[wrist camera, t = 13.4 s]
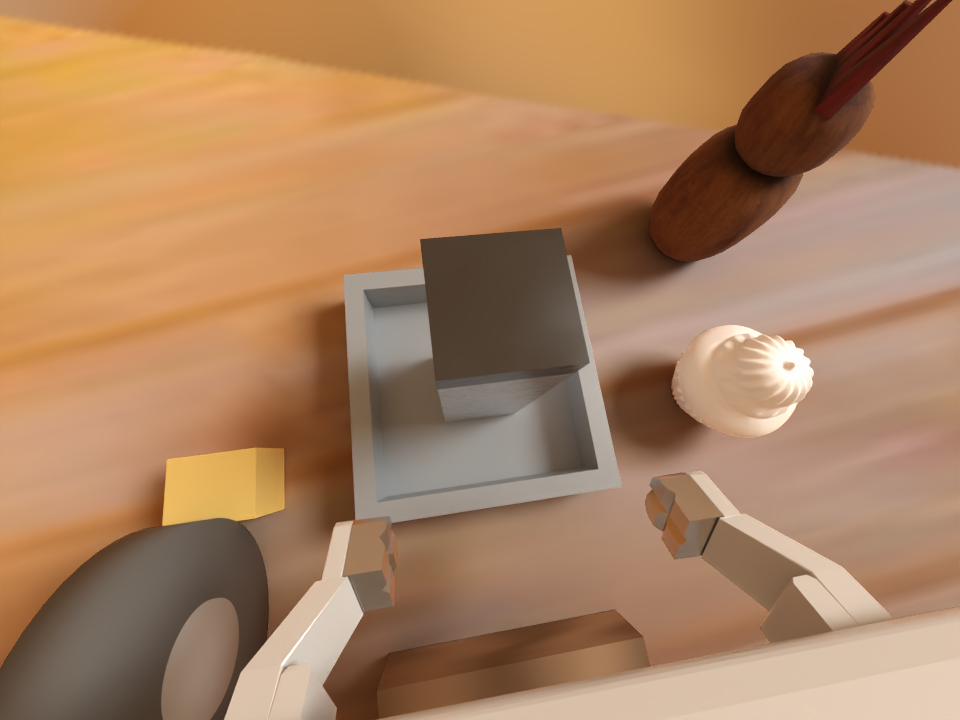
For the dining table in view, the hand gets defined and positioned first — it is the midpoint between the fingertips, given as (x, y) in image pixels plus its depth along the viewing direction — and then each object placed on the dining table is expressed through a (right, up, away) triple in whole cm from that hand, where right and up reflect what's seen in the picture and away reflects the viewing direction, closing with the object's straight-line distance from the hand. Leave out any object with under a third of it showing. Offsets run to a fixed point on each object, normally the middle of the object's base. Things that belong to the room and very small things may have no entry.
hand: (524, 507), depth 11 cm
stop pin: (-2, +3, +10) cm, 11 cm away
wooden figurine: (+13, +13, +15) cm, 24 cm away
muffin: (+12, +3, +12) cm, 17 cm away
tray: (-2, +3, +11) cm, 11 cm away
